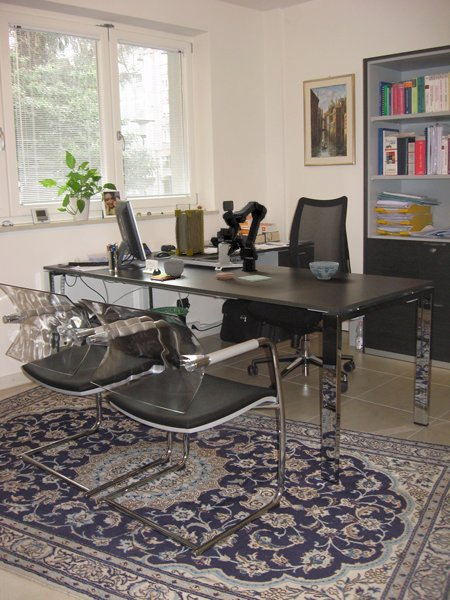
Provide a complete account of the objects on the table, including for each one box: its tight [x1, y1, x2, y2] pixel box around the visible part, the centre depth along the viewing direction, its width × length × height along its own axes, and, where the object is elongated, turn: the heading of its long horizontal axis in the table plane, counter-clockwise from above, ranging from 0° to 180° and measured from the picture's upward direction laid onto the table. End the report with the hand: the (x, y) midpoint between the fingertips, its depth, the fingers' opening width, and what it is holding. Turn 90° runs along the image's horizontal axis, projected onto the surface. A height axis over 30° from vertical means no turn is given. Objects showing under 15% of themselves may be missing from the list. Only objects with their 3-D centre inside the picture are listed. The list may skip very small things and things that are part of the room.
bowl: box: [215, 272, 234, 281], centre depth 360 cm, size 9×9×2 cm
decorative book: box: [174, 208, 205, 257], centre depth 459 cm, size 20×11×30 cm, turn 145°
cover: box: [215, 242, 233, 267], centre depth 358 cm, size 9×9×12 cm
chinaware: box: [309, 261, 340, 280], centre depth 354 cm, size 15×15×8 cm
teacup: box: [163, 259, 185, 277], centre depth 374 cm, size 14×11×8 cm
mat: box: [237, 274, 273, 283], centre depth 358 cm, size 13×13×1 cm
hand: (222, 255), depth 357 cm, fingers closed on cover, 6 cm apart
